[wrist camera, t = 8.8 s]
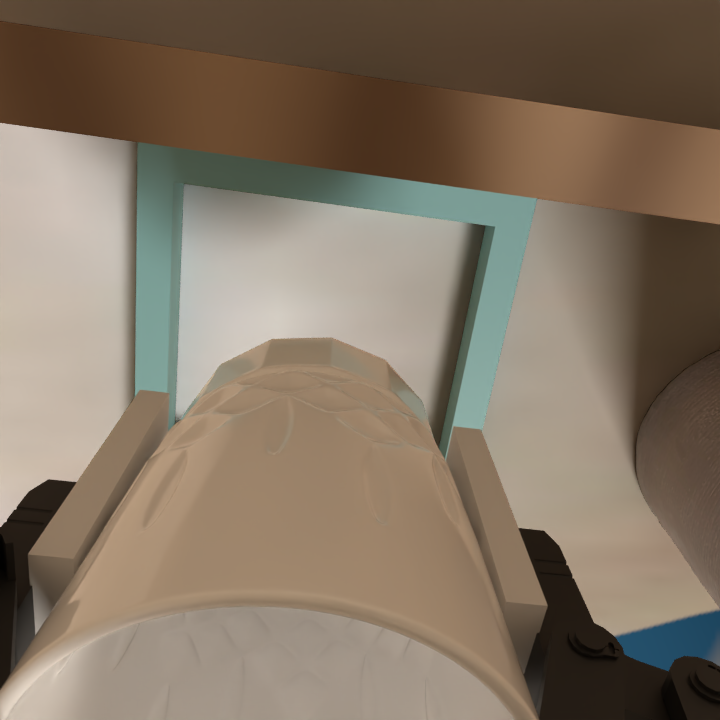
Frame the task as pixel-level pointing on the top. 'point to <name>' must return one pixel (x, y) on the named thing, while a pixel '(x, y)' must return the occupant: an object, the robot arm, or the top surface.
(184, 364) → the top surface
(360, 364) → the white cup
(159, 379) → the keeper frame
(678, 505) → the pillar candle
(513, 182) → the brown wooden board
